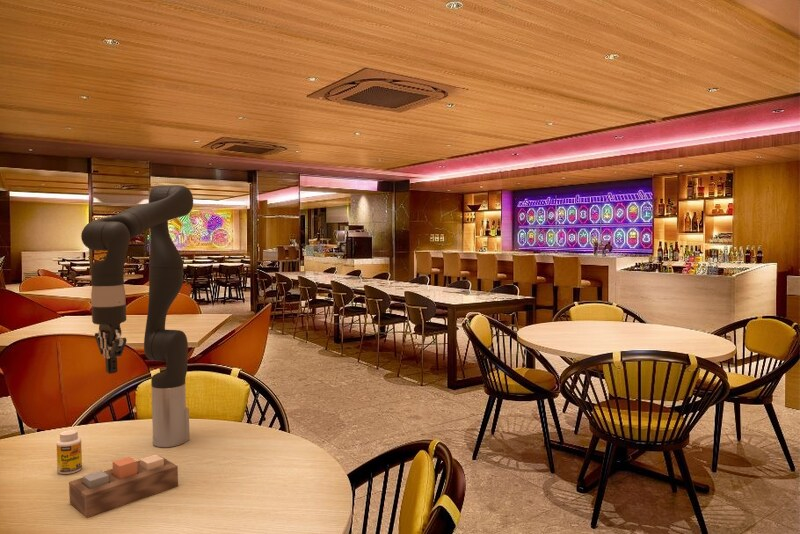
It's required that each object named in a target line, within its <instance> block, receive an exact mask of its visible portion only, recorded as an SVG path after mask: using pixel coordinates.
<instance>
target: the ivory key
mask: <svg viewBox="0 0 800 534" xmlns="http://www.w3.org/2000/svg"><path fill="white" fill-rule="evenodd" d="M158 455H159V454H153V455H150V456H146V457H142V458H140V459H139V461H140V467H142V468H143V469H145V470H146V471H148V470H152V469H155V468H158V467H161V466H164V459H163V458H164V457H163V456H161V455H159V456H158ZM160 456H161V457H160ZM162 457H163V458H162Z"/></svg>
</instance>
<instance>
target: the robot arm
mask: <svg viewBox="0 0 800 534" xmlns="http://www.w3.org/2000/svg"><path fill="white" fill-rule="evenodd" d="M193 207H194V197H193V193H192V191H191V190H190V188H188V187H186V186H184V185H179V184H178V185H175V184H167V185H164V184H161V185H154V186H153V187H152V188H151V190H150V192H149V196H148V202H146V203H143V204H137V205H134V206H132V207H129V208H127V209H125V210H123V211H121V212H119V213H117V214H114V215H110V216H106V217H102V218H101V217H100V218H97V219H94V220H92V221H90V222H88V223H87V224H86V225H85V226H84V227H83V229H82V231H81V235H80V237H81V242H82V244H83V245H84V246H85V247H86V248H87V249H89V250H91V251H98V252H99V251H106V252H107V253H106V256H105V258H104V259H101V260H97V261H95V262H93V263H92V265H91V268H90V269H91V270H90V273H91V275H90V276H91V291H90V292H91V293H90V298H91V299H90V301H91V304H90V305H91V321H92V324H94V325H98V332H95V333H94V338H95V342H96V343H97V346H98V347H97V348H98V350H99V352H100V355H103V358H104V360H105V362H104V363H105V372H106V374H109V375H113V374H116V373H117V372H118V358H119V357H122V355H123V352H124V349H125V347H126V344H127V341H128V340H127V337H122V327H121V324H122V323H124V322H126V321H127V302H126V298H127V297H126V290H125V284H124V283H125V280H124V279H125V278H124V275H125V273H124V266H125V262H126V259H127V253H128V250H129V246H130V240H131V239H133V238H136V237H137V236H139V235H141V234H142V233H144V232H146V231H148V230H149V232H150V245H149V247H150V253H149V255H150V256H149V269H148V270H149V272H148V301H147V302H148V306H147V315H146V316H147V317H146V322H145V330H144V339H143V351H144V352H143V353H144V355H145V357H146V359H148V360H149V361H153V362H166V365H165V366H166V367H165V370H163V371H160V372H157V373H154V375H152V376H151V382H150V383H151V413H152V415H151V417H152V422H151V423H152V445H154V446H155V447H158V448H170V447H176V446H179V445H182V444H184V443H185V442H187V441H189V440H190V439H191V438H190V409H189V408H188V407H187V396H186V395H187V393H186V376H187V373H188V354H189V350H188V349H189V344H188V343H189V342H188V338H187V335H186V333H185V332H184V331H183V330H177V329H166V321H167V315H168V311H169V309H170V308H171V306H172V304H173V302H174V301H175V299H177V296H178V295H179V293H180V291H181V289H182V288H183V287H182V286H183V283H184V261H183V258H182V256H181V253H180V252H179V250H178V248H177V246H176V244H175V243H174V241H173V240H172V237H171V235H170V231H169V221H171V220H174V219H178V218H182V217H185V216H188V215H189V214H190V213H191V211H192V210H193Z"/></svg>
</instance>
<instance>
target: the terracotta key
mask: <svg viewBox="0 0 800 534" xmlns="http://www.w3.org/2000/svg"><path fill="white" fill-rule="evenodd" d="M137 461H138V460H136V459H134V458H133V457H131V456H127V457H123V458H120V459H117V460H114V461H112V469H113V476H115V477H116V478H118V479H119V480H120V479H123V478H126V477H129V476H132V475H136V474H137Z"/></svg>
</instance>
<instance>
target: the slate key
mask: <svg viewBox="0 0 800 534" xmlns="http://www.w3.org/2000/svg"><path fill="white" fill-rule="evenodd" d="M82 478H83V485H85V486H86V487H87V488H89V489H91V488H94V487H98V486H101V485H104V484H107V483H109V475H107V474H106V473H104V472H103V470H99V471H95V472H91V473H88V474H85V475H82Z"/></svg>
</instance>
